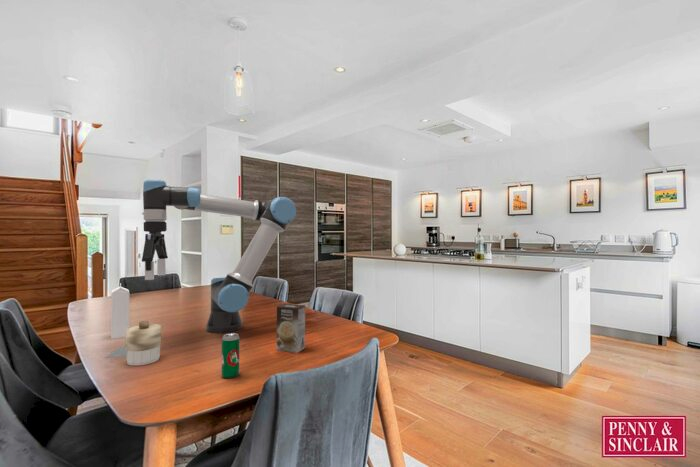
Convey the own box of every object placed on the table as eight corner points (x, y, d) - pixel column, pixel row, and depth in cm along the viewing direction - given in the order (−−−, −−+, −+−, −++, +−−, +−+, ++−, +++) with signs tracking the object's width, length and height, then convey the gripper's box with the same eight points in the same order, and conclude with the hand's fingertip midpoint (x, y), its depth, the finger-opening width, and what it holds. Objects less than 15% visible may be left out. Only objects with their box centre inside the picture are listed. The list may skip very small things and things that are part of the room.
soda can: (224, 372, 102) (224, 332, 103) (241, 371, 103) (241, 332, 103) (219, 379, 97) (219, 337, 98) (237, 378, 98) (237, 337, 98)
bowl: (163, 355, 116) (163, 341, 117) (153, 365, 108) (153, 349, 108) (134, 357, 115) (134, 342, 115) (121, 367, 106) (121, 351, 106)
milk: (111, 340, 134) (111, 284, 135) (110, 336, 139) (110, 283, 139) (129, 337, 138) (129, 283, 138) (128, 333, 143) (128, 281, 143)
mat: (156, 345, 127) (156, 344, 127) (143, 356, 116) (143, 355, 116) (121, 347, 125) (121, 346, 125) (104, 358, 113) (104, 357, 113)
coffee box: (275, 350, 123) (275, 306, 123) (284, 345, 129) (284, 303, 129) (297, 353, 120) (298, 308, 120) (305, 347, 126) (306, 304, 126)
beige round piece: (165, 340, 117) (165, 317, 117) (154, 350, 107) (154, 325, 107) (133, 342, 115) (134, 319, 115) (119, 352, 105) (119, 326, 106)
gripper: (155, 222, 138) (155, 274, 138) (130, 219, 114) (131, 282, 114) (175, 222, 140) (175, 273, 140) (155, 219, 116) (155, 281, 116)
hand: (155, 277), depth 127 cm, fingers open, 13 cm apart
